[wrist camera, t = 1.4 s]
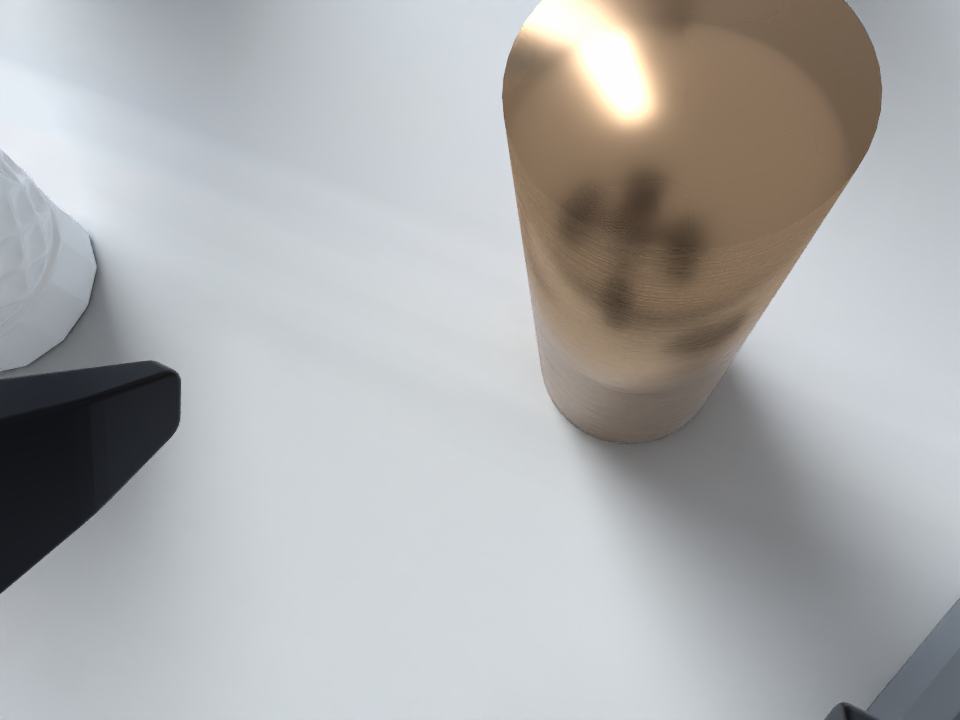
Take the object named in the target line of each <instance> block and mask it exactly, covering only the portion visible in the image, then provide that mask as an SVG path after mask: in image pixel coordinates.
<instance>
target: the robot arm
mask: <svg viewBox="0 0 960 720" xmlns="http://www.w3.org/2000/svg"><path fill="white" fill-rule="evenodd" d="M180 413H181V379H180V376H179V374H178V373H177V372H176V371H175V370H173V369H171V368H169V367H167V366H165V365H163V364H161V363H159V362H156V361H141V362H133V363H126V364H118V365H110V366H102V367H94V368H86V369H78V370H70V371H62V372H54V373H46V374H39V375H31V376H23V377H15V378H7V379H0V594H1V593H2V592H3V591H5V590H6V589H7V588H8V587H9V586H10V585H12V584H13V583H14V582H15V581H16V580H18V579H19V578H20V577H21V576H22V575H24V574H25V573H26V572H27V571H28V570H30V569H31V568H32V567H33V566H34V565H35V564H37V563H38V562H39V561H40V560H41V559H43V558H44V557H45V556H46V555H47V554H49V553H50V552H51V551H52V550H53V549H55V548H56V547H57V546H58V545H59V544H61V543H62V542H63V541H64V540H65V539H66V538H68V537H69V536H70V535H71V534H72V533H74V532H75V531H76V530H77V529H78V528H80V527H81V526H82V525H83V524H84V523H85V522H86V521H88V520H89V519H90V518H91V517H92V516H93V515H94V514H96V513H97V512H98V511H99V510H100V509H101V508H102V507H103V506H104V505H105V504H106V503H107V502H108V501H109V500H110V499H111V498H112V497H113V496H114V495H115V494H116V493H117V492H118V491H119V490H120V489H121V488H122V487H123V486H124V485H125V484H126V483H127V482H128V481H129V480H130V479H131V478H132V477H133V476H134V475H135V474H136V473H137V472H138V471H139V470H140V469H141V468H142V466H143V465H144V464H145V463H146V462H147V461H148V460H149V459H150V458H151V457H152V456H153V455H154V454H155V453H156V452H157V451H158V450H159V449H160V448H161V447H162V446H163V445H164V444H165V443H166V442H167V441H168V440H169V439H170V438H171V437H172V436H173V434H174V433H175V431H176V430H177V428H178V426H179V422H180ZM824 720H880V719H878V718H877V717H875V716H873V715H871V714H869V713H867V712H865V711H863V710H861V709H859V708H857V707H855V706H853V705H851V704H849V703H844V702H843V703H839V704H838V705H836V706H835V707H834V708H833V709H832V711H831V712H830V713H829V714H828V716H827V717H826V718H825V719H824Z"/></svg>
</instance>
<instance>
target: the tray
mask: <svg viewBox="0 0 960 720" xmlns="http://www.w3.org/2000/svg"><path fill="white" fill-rule="evenodd" d="M866 712H867V713H869V714H871V715H873V716H875V717H877V718H878V719H880V720H960V599H959V600H958V601H957V602H956V603H955V605H954V606H953V607H952V608H951V609H950V611H949V612H948V613H947V614H946V615H945V617H944V618H943V619H942V620H941V621H940V623H939V624H938V625H937V626H936V627H935V629H934V630H933V631H932V632H931V633H930V635H929V636H928V637H927V638H926V639H925V641H924V642H923V643H922V644H921V645H920V647H919V648H918V649H917V650H916V651H915V653H914V654H913V655H912V656H911V657H910V659H909V660H908V661H907V662H906V663H905V665H904V666H903V667H902V668H901V669H900V671H899V672H898V673H897V674H896V676H895V677H894V678H893V679H892V680H891V682H890V683H889V684H888V685H887V686H886V688H885V689H884V690H883V691H882V692H881V694H880V695H879V696H878V697H877V698H876V700H875V701H874V702H873V703H872V704H871V706H870V707H869V708H868V709H867V710H866Z"/></svg>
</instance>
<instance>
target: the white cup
mask: <svg viewBox="0 0 960 720" xmlns="http://www.w3.org/2000/svg"><path fill="white" fill-rule="evenodd" d="M96 269H97V265H96V261H95V257H94V253H93V249H92V246H91V242H90V238H89V234H88V232H87V231H86V230H85V229H84V228H83V227H82V226H81V225H80V224H79V223H78V222H76V221H75V220H74V219H73V218H72V217H71V216H70V215H69V214H68V213H67V212H66V211H65V210H64V209H62V208H61V207H60V206H59V205H58V204H57V203H55V202H54V201H53V200H52V199H51V198H49V197H48V196H47V195H46V194H45V193H44V192H43V191H42V190H41V189H40V188H39V187H38V186H37V185H36V184H35V182H34V180H33V179H32V177H31V176H30V175H29V174H28V173H27V172H25V171H24V170H23V169H22V168H21V167H19V166H18V165H17V164H16V163H14V161H13V160H12V159H11V158H10V157H9V156H8V155H7V154H6V153H5V152H4V151H3V150H2V149H0V371H5V370H9V369H14V368H19V367H23V366H27V365H28V364H30V363H31V362H33V361H34V360H36V359H37V358H39V357H40V356H42V355H43V354H44V353H46V352H47V351H49V350H50V349H52V348H53V347H55V346H56V345H58V344H59V343H60V342H62V341H63V340H64V339H65V337H66V336H67V335H68V333H69V332H70V330H71V329H72V328H73V326H74V325H75V323H76V322H77V320H78V319H79V318H80V316H81V315H82V313H83V312H84V310H85V309H86V308H87V306H88V304H89V300H90V295H91V291H92V286H93V282H94V278H95V273H96Z"/></svg>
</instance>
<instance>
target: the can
mask: <svg viewBox="0 0 960 720" xmlns="http://www.w3.org/2000/svg"><path fill="white" fill-rule="evenodd" d="M881 97H882V84H881V76H880V67H879V64H878V60H877V57H876V53H875V50H874V47H873V45H872V42H871V40H870V38H869V36H868V34H867V32H866V30H865V28H864V26H863V25H862V23H861V22H860V20H859V19H858V17H857V16H856V14H855V13H854V11H853V10H852V9H851V8H850V7H849V5H848V4H847V3H846V2H845V1H844V0H543V1H542V2H541V3H540V4H539V5H538V6H537V7H536V8H535V10H534V11H533V12H532V14H531V15H530V16H529V18H528V19H527V20H526V22H525V23H524V25H523V27H522V28H521V30H520V32H519V34H518V36H517V37H516V39H515V41H514V44H513V46H512V49H511V52H510V54H509V57H508V60H507V65H506V69H505V73H504V79H503V93H502V99H503V111H504V120H505V127H506V134H507V140H508V147H509V154H510V161H511V167H512V174H513V181H514V187H515V194H516V201H517V208H518V214H519V221H520V228H521V235H522V241H523V248H524V255H525V262H526V268H527V275H528V282H529V289H530V295H531V302H532V309H533V316H534V322H535V329H536V336H537V343H538V349H539V356H540V363H541V370H542V375H543V379H544V383H545V386H546V388H547V391H548V393H549V395H550V397H551V399H552V401H553V403H554V404H555V405H556V407H557V408H558V409H559V411H560V412H561V413H562V414H563V415H564V416H565V417H566V418H567V419H568V420H569V421H570V422H571V423H573V424H574V425H575V426H576V427H578V428H580V429H581V430H583V431H585V432H586V433H588V434H590V435H593V436H595V437H597V438H600V439H604V440H607V441H611V442H617V443H644V442H649V441H653V440H657V439H660V438H663V437H665V436H668V435H670V434H672V433H674V432H675V431H677V430H679V429H680V428H682V427H683V426H684V425H686V424H687V423H688V422H689V421H690V420H691V419H692V418H694V417H695V415H696V414H697V413H698V412H699V410H700V409H701V408H702V407H703V405H704V403H705V402H706V400H707V399H708V397H709V396H710V394H711V393H712V391H713V390H714V388H715V387H716V385H717V383H718V382H719V380H720V379H721V377H722V376H723V374H724V373H725V371H726V370H727V368H728V367H729V365H730V363H731V362H732V360H733V359H734V357H735V356H736V354H737V353H738V351H739V350H740V348H741V347H742V345H743V343H744V342H745V340H746V339H747V337H748V336H749V334H750V333H751V331H752V330H753V328H754V327H755V325H756V323H757V322H758V320H759V319H760V317H761V316H762V314H763V313H764V311H765V310H766V308H767V307H768V305H769V303H770V302H771V300H772V299H773V297H774V296H775V294H776V293H777V291H778V290H779V288H780V287H781V285H782V283H783V282H784V280H785V279H786V277H787V276H788V274H789V273H790V271H791V270H792V268H793V267H794V265H795V263H796V262H797V260H798V259H799V257H800V256H801V254H802V253H803V251H804V250H805V248H806V247H807V245H808V243H809V242H810V240H811V239H812V237H813V236H814V234H815V233H816V231H817V230H818V228H819V227H820V225H821V223H822V222H823V220H824V219H825V217H826V216H827V214H828V213H829V211H830V210H831V208H832V207H833V205H834V203H835V202H836V200H837V199H838V197H839V196H840V194H841V193H842V191H843V190H844V188H845V186H846V185H847V183H848V182H849V180H850V179H851V177H852V176H853V174H854V173H855V171H856V170H857V168H858V166H859V165H860V163H861V161H862V160H863V158H864V156H865V155H866V153H867V151H868V149H869V147H870V144H871V142H872V139H873V137H874V134H875V132H876V129H877V124H878V120H879V115H880V111H881Z"/></svg>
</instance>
